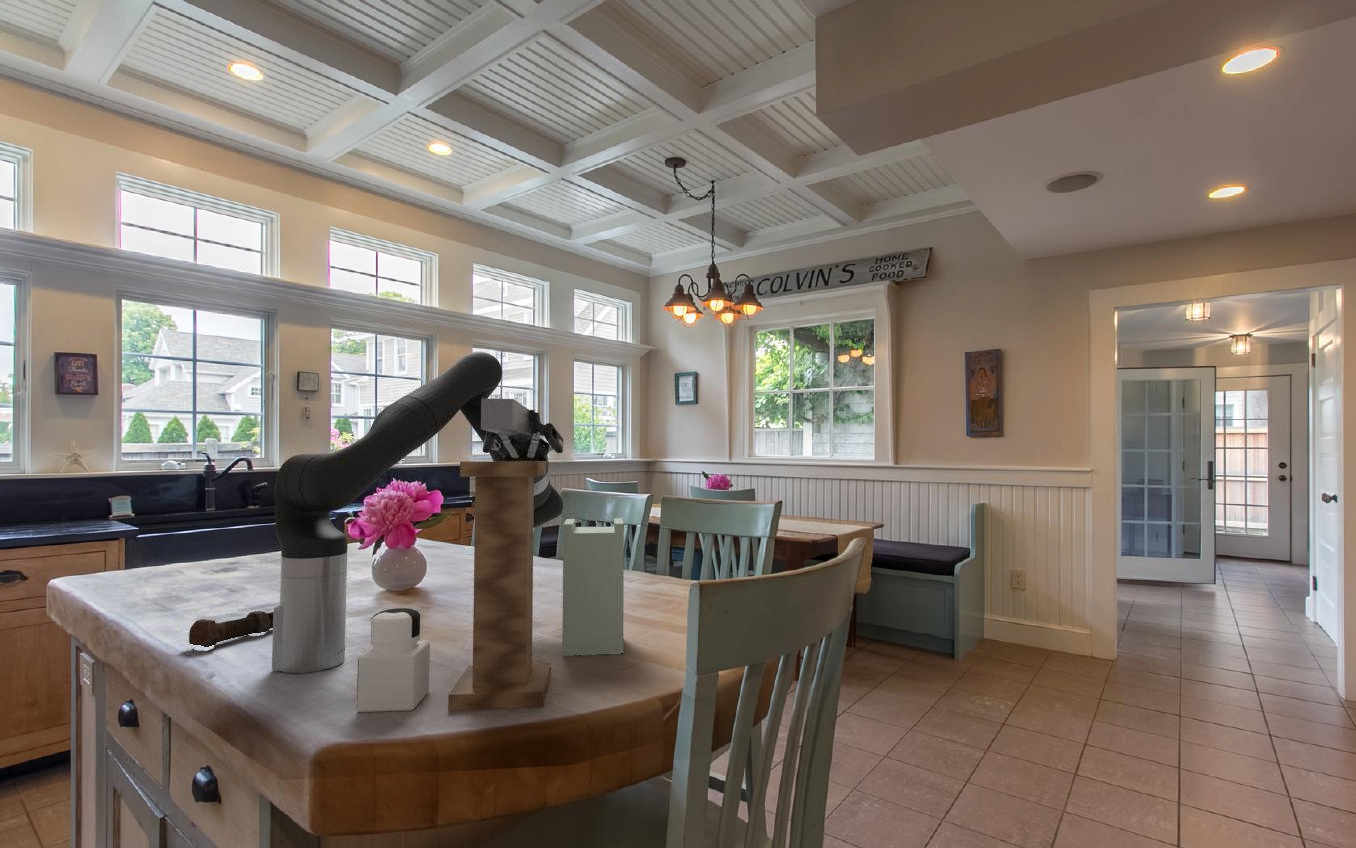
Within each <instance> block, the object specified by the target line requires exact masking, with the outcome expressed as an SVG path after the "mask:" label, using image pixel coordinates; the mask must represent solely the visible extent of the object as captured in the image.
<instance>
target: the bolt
mask: <svg viewBox="0 0 1356 848" xmlns="http://www.w3.org/2000/svg"><path fill="white" fill-rule="evenodd" d="M273 613H274V611H272V612H266V611H261V610H259V611H258V610H255V611H250V612H249V613H248V614H247V615H246V617H242V618H237V619H233V620H228V621H227V620H226V621H223V622H216V620H213V619H212V620H211V619H203V618H202V619H198V620H195V621H194V623H193V624H192V625H191V627H190V629H189V632H188V642H189V645H190V644H193V645H201V646H204V647H209V646H212V645H215V646H216V645H217V644H218V643H217V642H219V643H221V642H224V640H225V641H229V640H232V639H231V638H233V639H236V638H235V637H238V638H241V636H242V637H245V636H244V635H247V636H248V634H252V633H261V632H266V631H267V632H268V631H270V630H269V629H270V628H273ZM228 639H229V640H228Z"/></svg>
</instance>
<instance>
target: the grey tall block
mask: <svg viewBox="0 0 1356 848" xmlns="http://www.w3.org/2000/svg"><path fill="white" fill-rule="evenodd" d="M562 528H563V530H562V533H563V535H562V632H561V633H562V639H561V640H562V642H561V643H562V648H561V649H562V651H561V653H562V655H561V656H562V657H575V656H574V655H577V656H578V655H581V656H596V655H595V654H610V655H622V654H621V653H623V654H624V601H625V600H624V592H625V591H624V585H625V584H624V581H625V580H624V578H625V577H624V575H625V574H624V572H625V571H624V563H625V562H624V561H625V560H624V558H625V555H624V552H625V551H624V548H625V547H624V545H625V544H624V543H625V542H624V541H625V537H624V535H625V533H624V531H625V529H624V528H625V524H624V519H623V518H622V517H621V518H619V517H618V518H617V517H616V518H613V526H576V518H566V520H565V521H564V523H563V525H562Z"/></svg>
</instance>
